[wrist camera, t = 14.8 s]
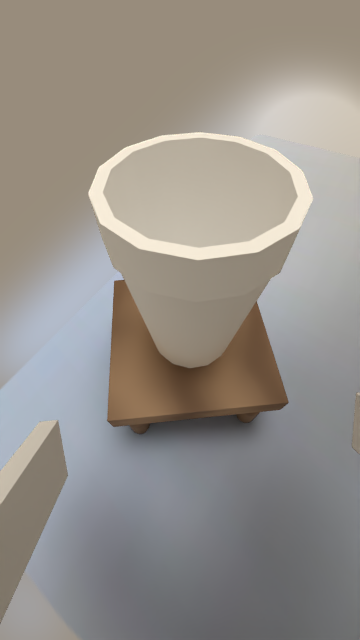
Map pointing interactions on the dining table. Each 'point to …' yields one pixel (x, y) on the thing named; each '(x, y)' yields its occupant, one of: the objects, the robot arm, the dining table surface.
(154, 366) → the stool
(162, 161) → the foam cup
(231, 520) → the dining table surface
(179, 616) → the dining table surface
